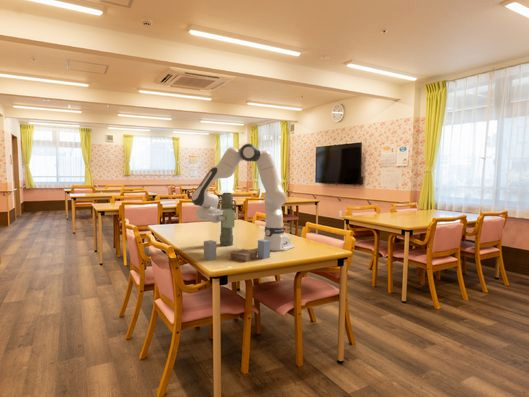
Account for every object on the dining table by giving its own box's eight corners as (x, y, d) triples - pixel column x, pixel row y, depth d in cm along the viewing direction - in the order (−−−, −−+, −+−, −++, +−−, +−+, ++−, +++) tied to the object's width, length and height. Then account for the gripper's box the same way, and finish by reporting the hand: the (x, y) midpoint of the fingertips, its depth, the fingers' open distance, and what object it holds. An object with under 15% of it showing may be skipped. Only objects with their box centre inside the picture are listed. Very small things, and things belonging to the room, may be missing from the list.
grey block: (210, 257, 198) (210, 240, 197) (216, 259, 194) (216, 241, 194) (203, 258, 194) (203, 241, 193) (209, 260, 191) (209, 242, 190)
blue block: (263, 256, 204) (263, 239, 203) (269, 257, 200) (270, 240, 200) (257, 257, 200) (257, 240, 199) (263, 259, 197) (264, 241, 196)
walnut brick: (242, 255, 205) (242, 249, 204) (256, 258, 200) (257, 251, 200) (230, 260, 194) (230, 253, 194) (245, 262, 189) (245, 255, 189)
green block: (228, 226, 209) (229, 209, 208) (234, 227, 205) (234, 210, 205) (222, 226, 205) (222, 210, 204) (227, 228, 202) (228, 211, 201)
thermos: (236, 245, 230) (236, 193, 227) (218, 246, 228) (218, 193, 225) (234, 243, 239) (235, 192, 236) (217, 243, 236) (218, 192, 234)
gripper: (201, 211, 206) (215, 213, 196) (227, 209, 221) (242, 211, 211) (200, 222, 206) (215, 224, 197) (227, 219, 221) (241, 221, 212)
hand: (229, 217), depth 204 cm, fingers closed on green block, 5 cm apart
